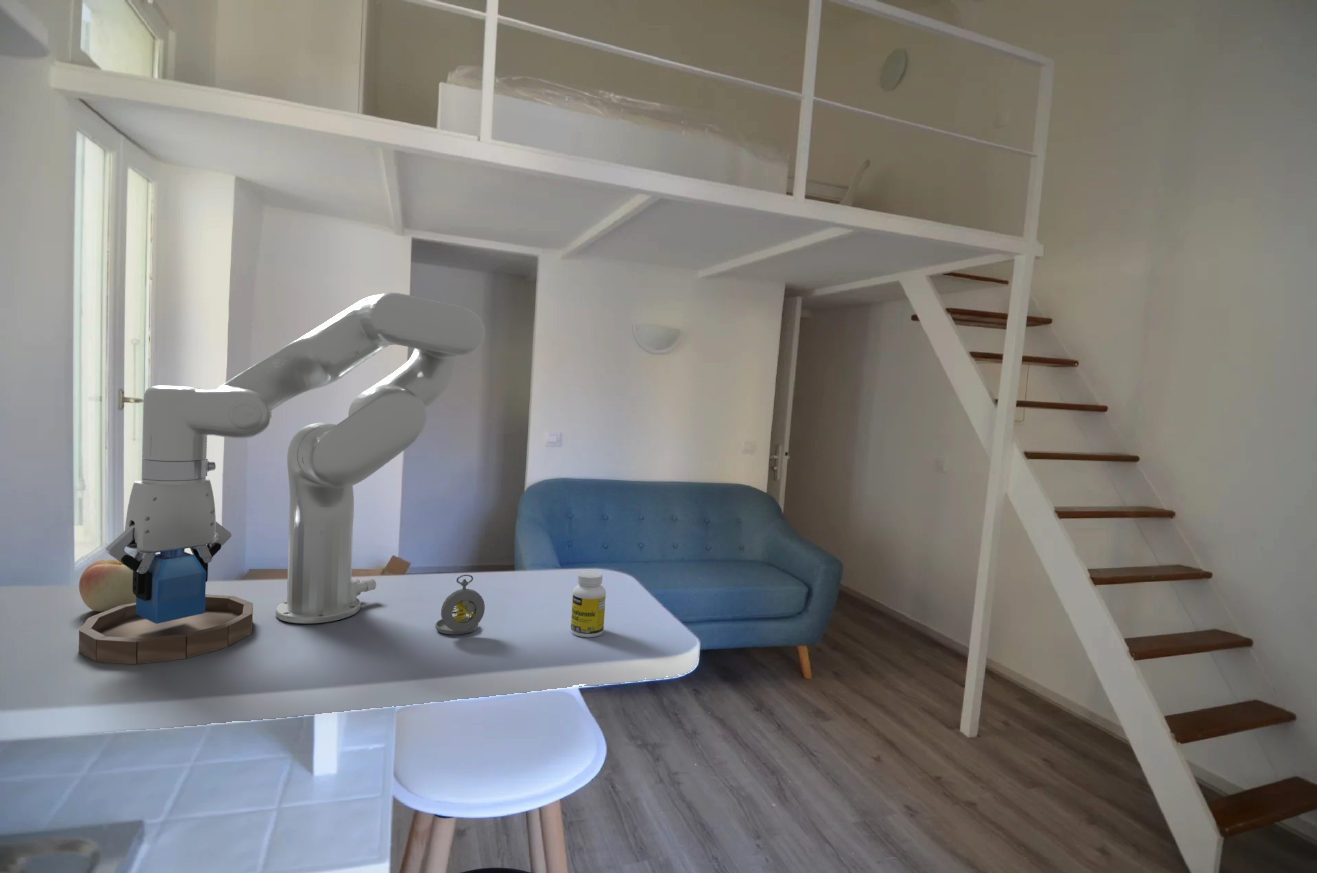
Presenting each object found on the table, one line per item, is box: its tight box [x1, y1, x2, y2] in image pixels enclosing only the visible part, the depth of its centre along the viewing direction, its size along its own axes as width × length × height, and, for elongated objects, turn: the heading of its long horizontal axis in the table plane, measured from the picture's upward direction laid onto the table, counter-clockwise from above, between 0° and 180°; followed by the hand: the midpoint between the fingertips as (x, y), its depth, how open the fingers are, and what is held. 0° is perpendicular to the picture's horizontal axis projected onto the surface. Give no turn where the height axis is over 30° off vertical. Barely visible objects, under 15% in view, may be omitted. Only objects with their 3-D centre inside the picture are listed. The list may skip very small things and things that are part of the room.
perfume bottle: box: [136, 548, 207, 624], centre depth 97 cm, size 6×6×12 cm
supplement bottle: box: [570, 570, 607, 638], centre depth 109 cm, size 5×5×10 cm
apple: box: [78, 559, 136, 613], centre depth 106 cm, size 9×9×8 cm
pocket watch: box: [434, 574, 486, 635], centre depth 105 cm, size 8×8×10 cm
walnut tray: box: [78, 593, 254, 665], centre depth 97 cm, size 20×20×3 cm
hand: (171, 592), depth 97 cm, fingers closed on perfume bottle, 6 cm apart
